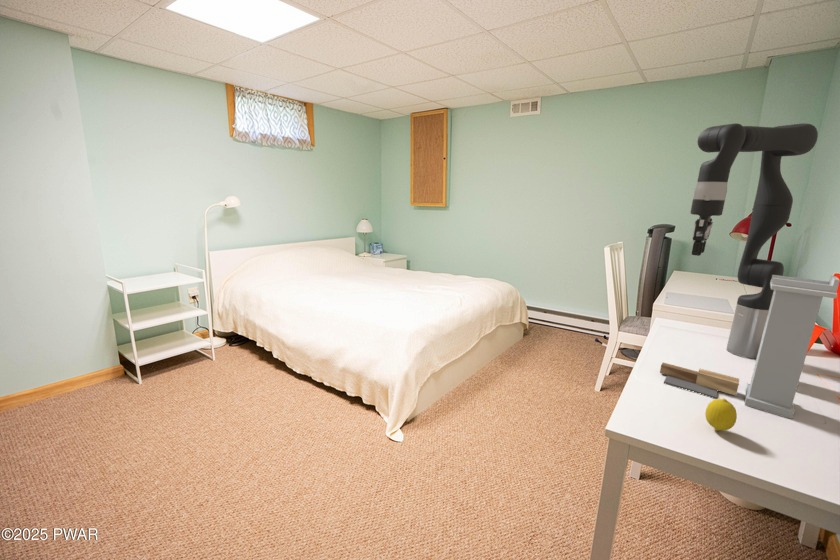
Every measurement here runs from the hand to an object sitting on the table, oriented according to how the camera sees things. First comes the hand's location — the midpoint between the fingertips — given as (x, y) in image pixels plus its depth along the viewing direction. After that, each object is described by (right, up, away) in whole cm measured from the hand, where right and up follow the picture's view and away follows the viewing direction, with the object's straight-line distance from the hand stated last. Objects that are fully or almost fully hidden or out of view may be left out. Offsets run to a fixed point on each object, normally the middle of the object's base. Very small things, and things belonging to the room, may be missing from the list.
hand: (697, 253), depth 113 cm
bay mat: (-4, -38, -3) cm, 38 cm away
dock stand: (+9, -40, -13) cm, 43 cm away
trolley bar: (-3, -37, -4) cm, 38 cm away
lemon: (-15, -43, -26) cm, 52 cm away
